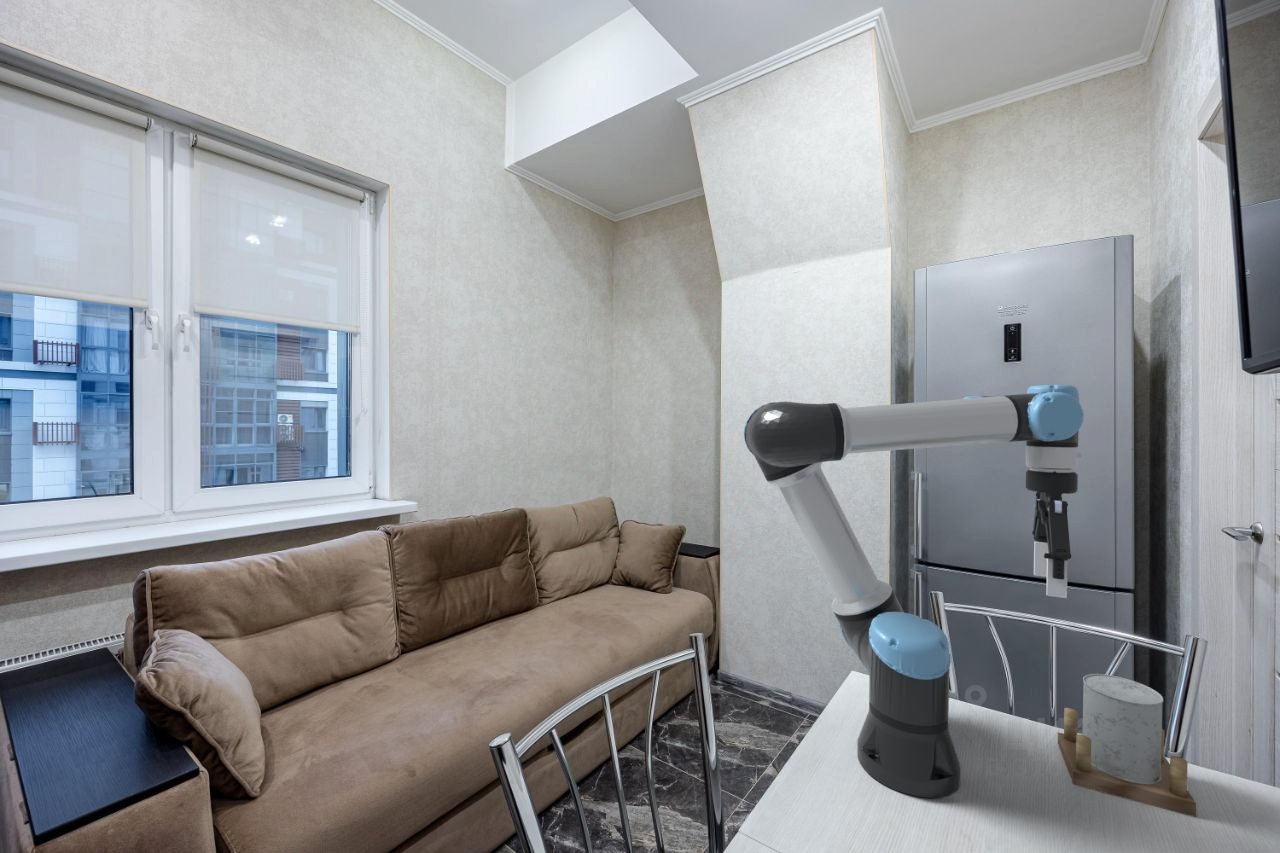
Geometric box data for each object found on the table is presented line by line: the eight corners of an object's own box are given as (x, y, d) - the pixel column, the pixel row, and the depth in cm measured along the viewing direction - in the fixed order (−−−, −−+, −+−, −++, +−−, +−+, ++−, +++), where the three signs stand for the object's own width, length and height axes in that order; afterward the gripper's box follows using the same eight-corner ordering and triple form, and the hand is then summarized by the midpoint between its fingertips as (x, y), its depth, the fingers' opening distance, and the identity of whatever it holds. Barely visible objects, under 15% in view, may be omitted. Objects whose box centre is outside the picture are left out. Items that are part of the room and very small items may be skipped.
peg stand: (1073, 784, 84) (1073, 740, 84) (1057, 743, 94) (1058, 704, 94) (1196, 816, 77) (1197, 768, 77) (1164, 769, 87) (1165, 726, 87)
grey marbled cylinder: (1178, 788, 80) (1180, 707, 80) (1105, 779, 82) (1106, 700, 82) (1133, 749, 89) (1135, 677, 89) (1068, 742, 91) (1069, 671, 91)
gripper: (1095, 477, 85) (1093, 610, 85) (1062, 465, 106) (1060, 571, 107) (1037, 475, 88) (1035, 602, 89) (1017, 463, 110) (1015, 566, 110)
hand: (1049, 585), depth 98 cm, fingers open, 13 cm apart
